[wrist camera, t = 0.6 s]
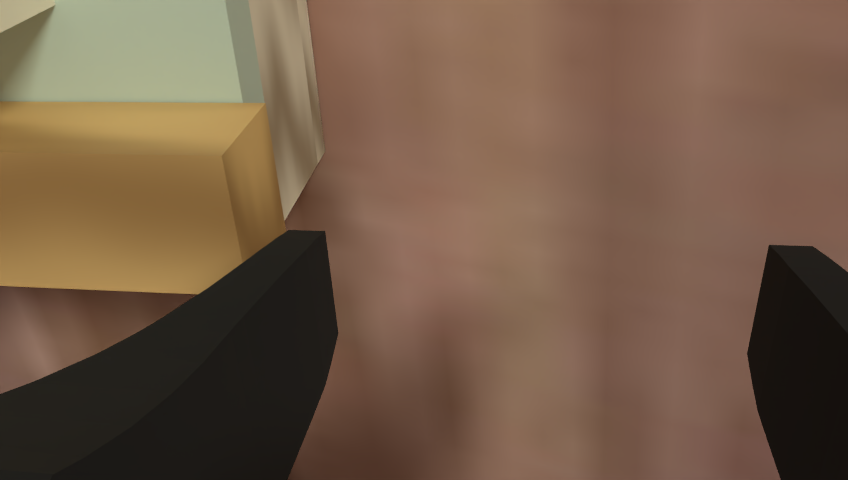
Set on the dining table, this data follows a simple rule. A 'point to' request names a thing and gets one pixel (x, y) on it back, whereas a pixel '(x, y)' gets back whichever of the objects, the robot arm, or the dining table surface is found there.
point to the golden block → (134, 194)
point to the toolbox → (289, 92)
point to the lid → (128, 51)
